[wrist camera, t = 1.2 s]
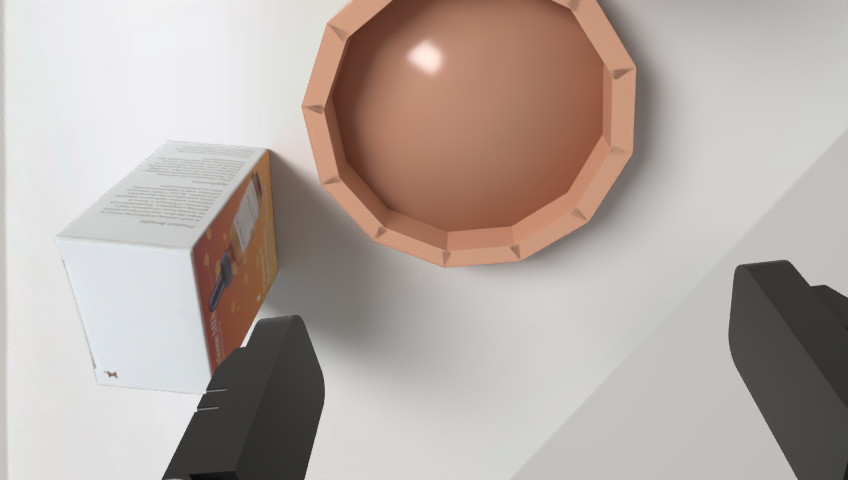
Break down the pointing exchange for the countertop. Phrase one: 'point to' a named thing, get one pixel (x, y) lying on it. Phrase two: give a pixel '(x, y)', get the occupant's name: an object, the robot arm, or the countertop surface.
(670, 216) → the countertop surface
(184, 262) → the small box
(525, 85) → the round tray
